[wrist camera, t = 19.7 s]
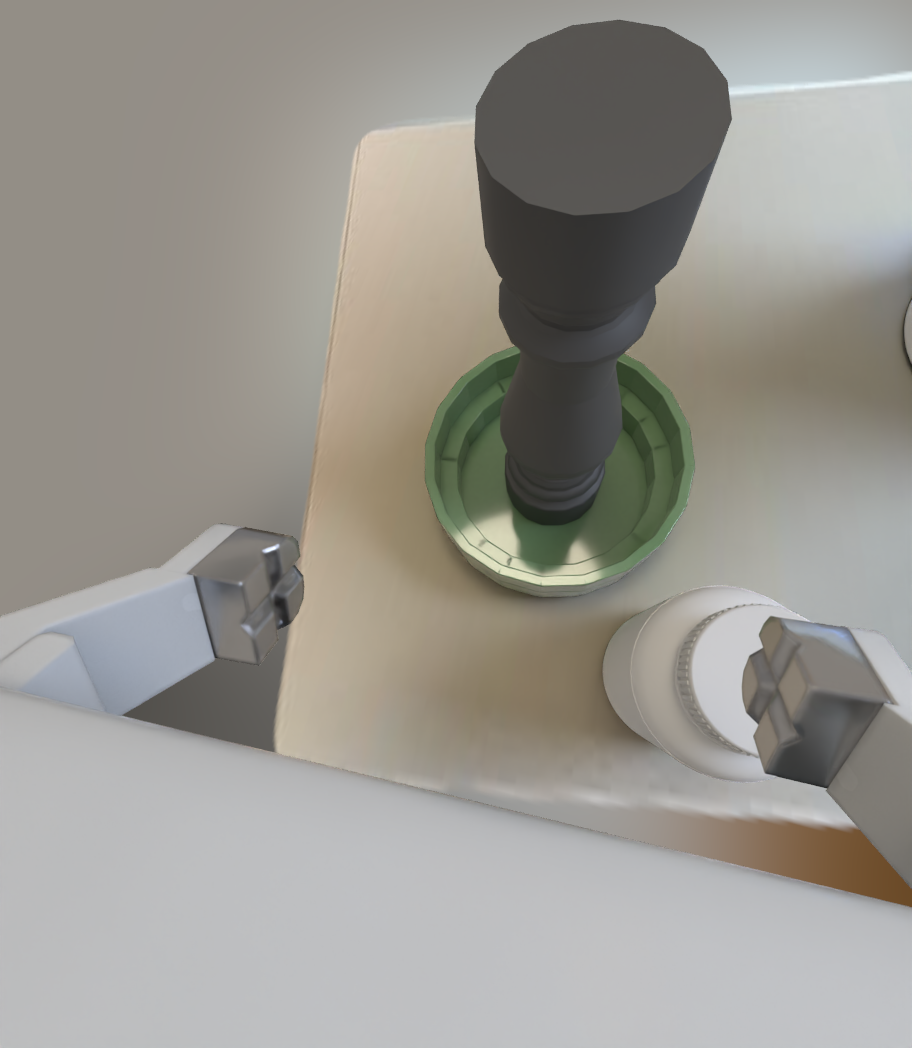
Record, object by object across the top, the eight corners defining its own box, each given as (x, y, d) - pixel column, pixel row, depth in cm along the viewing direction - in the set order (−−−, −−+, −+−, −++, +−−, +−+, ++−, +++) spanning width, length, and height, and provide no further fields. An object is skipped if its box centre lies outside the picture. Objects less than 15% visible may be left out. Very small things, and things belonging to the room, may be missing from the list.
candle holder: (516, 432, 37) (494, 9, 13) (606, 447, 36) (760, 14, 12) (497, 516, 36) (433, 212, 12) (590, 534, 35) (726, 239, 11)
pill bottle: (597, 607, 34) (646, 565, 20) (730, 612, 33) (884, 570, 19) (599, 739, 32) (656, 798, 18) (741, 749, 31) (922, 820, 17)
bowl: (613, 353, 39) (626, 304, 33) (710, 550, 34) (743, 529, 29) (412, 428, 39) (394, 390, 34) (482, 631, 35) (473, 625, 30)
